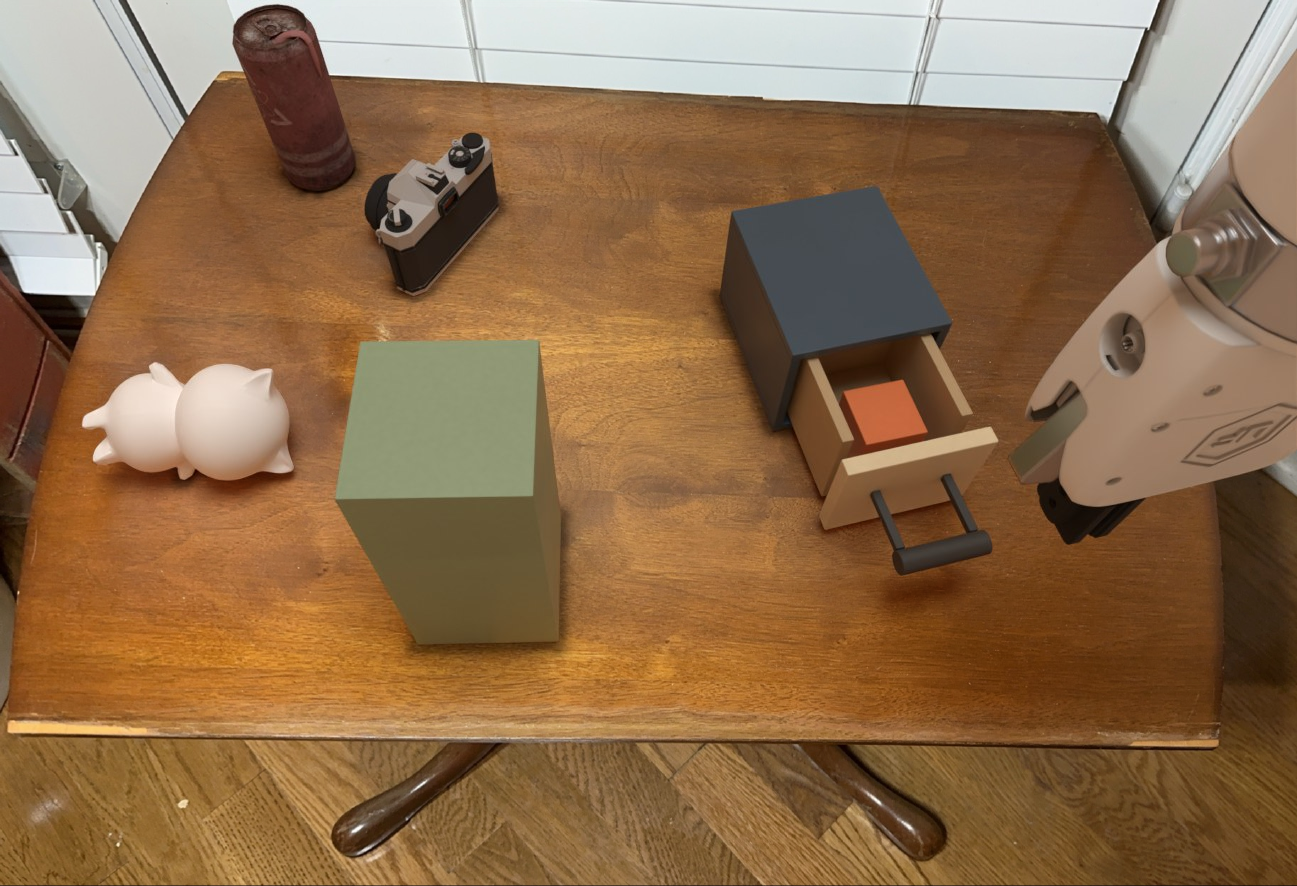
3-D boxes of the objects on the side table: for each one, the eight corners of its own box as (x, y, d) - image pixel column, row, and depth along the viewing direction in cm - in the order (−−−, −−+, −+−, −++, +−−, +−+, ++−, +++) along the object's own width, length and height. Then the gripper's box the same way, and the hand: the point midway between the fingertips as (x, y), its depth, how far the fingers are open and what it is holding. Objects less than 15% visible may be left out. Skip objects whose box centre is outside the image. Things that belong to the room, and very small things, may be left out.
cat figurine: (57, 387, 57) (250, 383, 57) (140, 330, 66) (306, 327, 66) (97, 509, 61) (278, 505, 61) (170, 439, 70) (327, 436, 70)
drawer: (997, 572, 61) (1042, 521, 55) (855, 608, 60) (884, 560, 53) (892, 359, 70) (920, 293, 64) (766, 385, 69) (781, 320, 62)
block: (910, 465, 64) (928, 431, 61) (851, 477, 64) (866, 444, 60) (887, 413, 66) (903, 378, 63) (830, 425, 66) (842, 390, 62)
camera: (435, 171, 81) (409, 89, 73) (511, 199, 79) (493, 118, 71) (351, 278, 76) (313, 202, 68) (431, 311, 74) (402, 237, 66)
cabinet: (914, 401, 69) (953, 323, 61) (772, 431, 68) (792, 355, 60) (850, 270, 76) (877, 185, 68) (719, 295, 74) (731, 210, 66)
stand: (558, 641, 59) (533, 496, 42) (417, 644, 59) (333, 499, 42) (561, 516, 64) (539, 339, 47) (430, 518, 63) (359, 341, 46)
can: (346, 198, 79) (297, 55, 67) (275, 188, 79) (214, 44, 67) (369, 150, 82) (326, 5, 70) (300, 141, 82) (246, -5, 70)
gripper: (1169, 385, 25) (955, 624, 40) (1624, 283, 27) (1254, 547, 43) (1038, 190, 28) (889, 479, 44) (1448, 116, 31) (1167, 416, 46)
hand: (1069, 512), depth 43 cm, fingers closed
